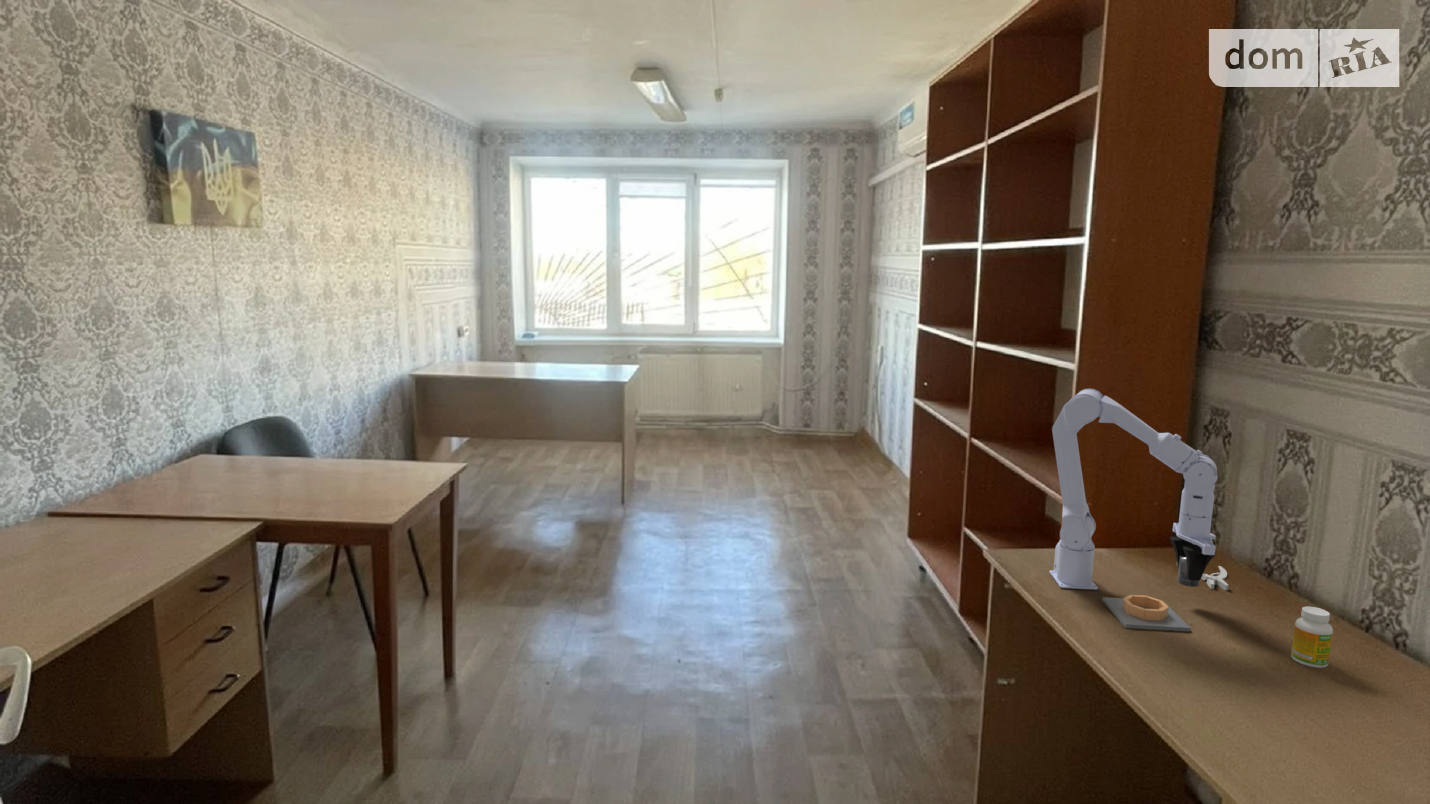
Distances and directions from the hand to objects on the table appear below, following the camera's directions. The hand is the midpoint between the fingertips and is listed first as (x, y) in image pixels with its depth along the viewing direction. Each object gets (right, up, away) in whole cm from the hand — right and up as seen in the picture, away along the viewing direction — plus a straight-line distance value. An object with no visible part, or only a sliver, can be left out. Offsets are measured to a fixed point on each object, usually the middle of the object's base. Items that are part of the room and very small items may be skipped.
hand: (1189, 575), depth 163 cm
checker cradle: (-12, -7, -4) cm, 15 cm away
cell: (0, -2, 0) cm, 2 cm away
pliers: (+14, -5, +16) cm, 22 cm away
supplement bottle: (+8, -11, -23) cm, 26 cm away
